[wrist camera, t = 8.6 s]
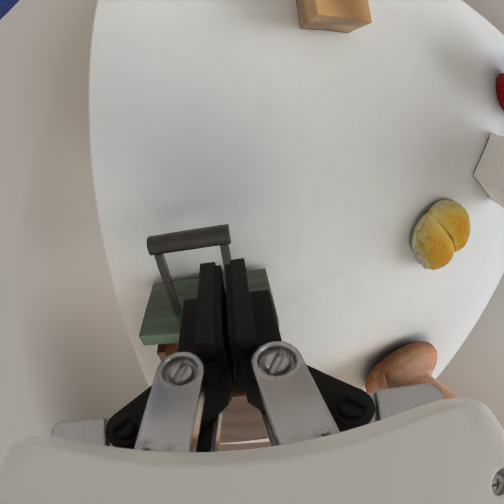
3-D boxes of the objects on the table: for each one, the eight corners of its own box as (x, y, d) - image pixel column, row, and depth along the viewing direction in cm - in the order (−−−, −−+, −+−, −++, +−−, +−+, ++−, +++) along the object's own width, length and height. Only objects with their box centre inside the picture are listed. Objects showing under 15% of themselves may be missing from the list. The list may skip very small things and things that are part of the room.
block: (300, 28, 16) (317, 14, 13) (294, -11, 14) (308, -31, 10) (348, 33, 17) (372, 22, 13) (341, -6, 14) (363, -21, 10)
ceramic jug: (441, 340, 41) (474, 393, 29) (392, 385, 47) (415, 438, 35) (396, 322, 35) (439, 396, 23) (336, 379, 41) (360, 450, 29)
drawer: (131, 218, 23) (103, 262, 16) (258, 198, 23) (273, 237, 17) (187, 362, 33) (184, 410, 27) (272, 352, 34) (282, 400, 27)
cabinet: (174, 338, 32) (167, 401, 24) (274, 326, 32) (289, 388, 25) (201, 395, 39) (201, 443, 32) (278, 386, 40) (288, 434, 32)
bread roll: (464, 228, 28) (482, 242, 25) (420, 269, 31) (437, 287, 27) (450, 182, 25) (472, 194, 21) (400, 229, 27) (420, 246, 24)
